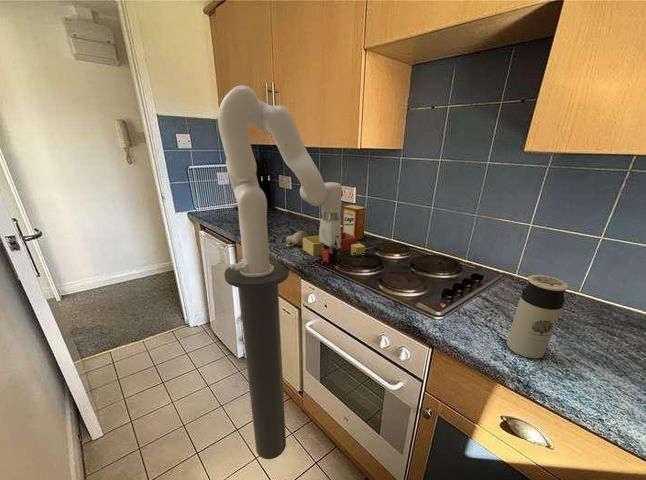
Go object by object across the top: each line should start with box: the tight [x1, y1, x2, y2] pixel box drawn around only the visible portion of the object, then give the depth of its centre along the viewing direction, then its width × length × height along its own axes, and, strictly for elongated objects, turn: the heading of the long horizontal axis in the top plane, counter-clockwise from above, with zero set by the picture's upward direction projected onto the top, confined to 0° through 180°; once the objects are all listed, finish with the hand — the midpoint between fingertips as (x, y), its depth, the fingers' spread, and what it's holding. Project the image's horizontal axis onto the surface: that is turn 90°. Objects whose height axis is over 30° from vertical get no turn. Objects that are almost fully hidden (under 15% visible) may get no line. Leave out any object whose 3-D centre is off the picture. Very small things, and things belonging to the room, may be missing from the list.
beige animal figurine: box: [285, 230, 309, 248], centre depth 139 cm, size 8×10×10 cm
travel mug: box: [505, 274, 570, 359], centre depth 69 cm, size 8×8×18 cm
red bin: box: [334, 231, 358, 253], centre depth 138 cm, size 10×10×6 cm
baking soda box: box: [341, 204, 367, 241], centre depth 151 cm, size 10×6×16 cm
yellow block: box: [350, 243, 366, 256], centre depth 130 cm, size 4×4×4 cm
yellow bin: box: [302, 235, 334, 257], centre depth 132 cm, size 10×10×6 cm
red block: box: [322, 248, 331, 264], centre depth 123 cm, size 4×4×4 cm
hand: (329, 259), depth 124 cm, fingers closed on red block, 4 cm apart
